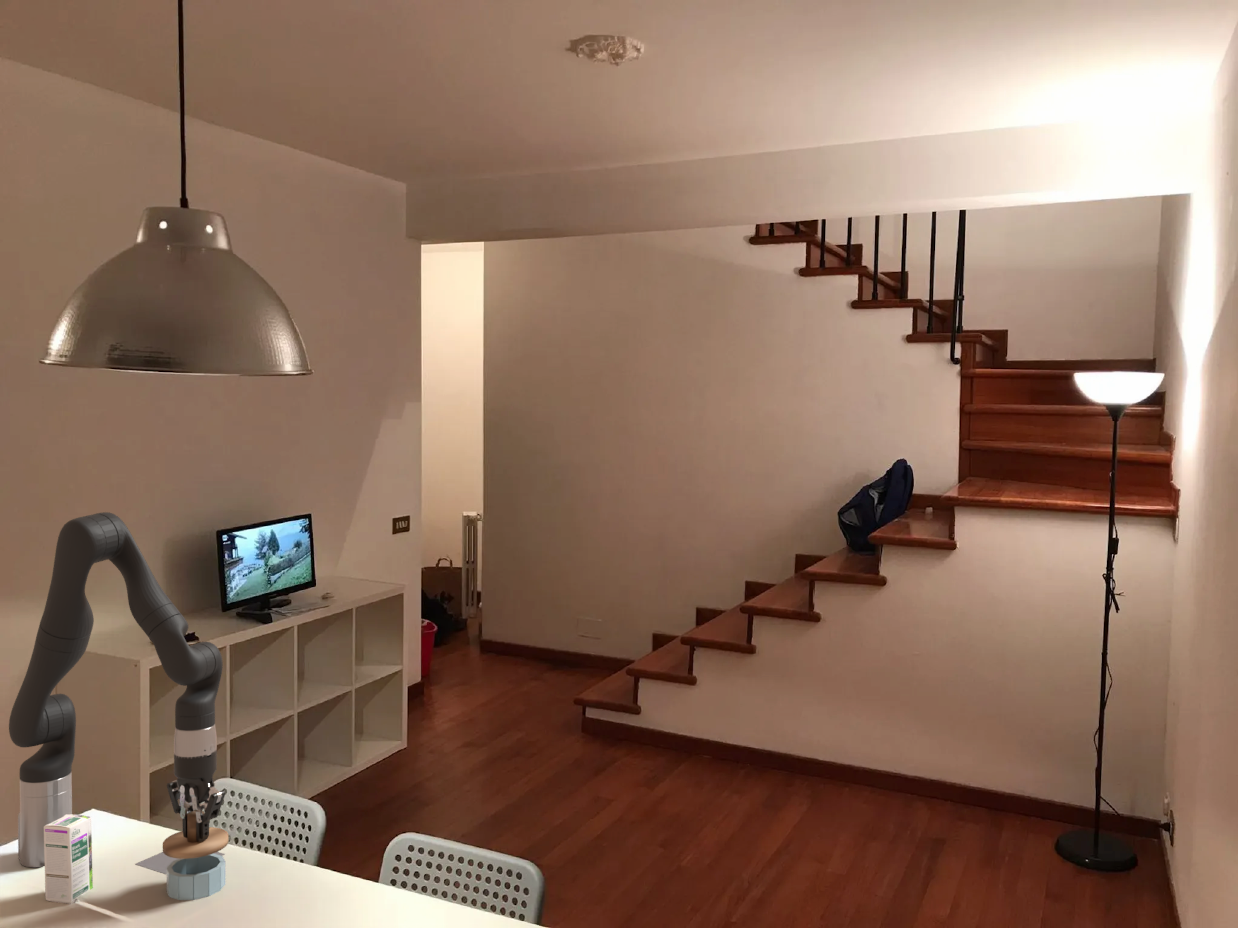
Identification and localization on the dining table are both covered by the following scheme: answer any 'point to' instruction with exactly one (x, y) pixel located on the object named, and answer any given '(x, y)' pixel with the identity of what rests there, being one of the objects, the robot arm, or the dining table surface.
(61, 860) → the syrup box
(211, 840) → the lid
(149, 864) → the mat
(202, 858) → the bowl
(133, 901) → the dining table surface
